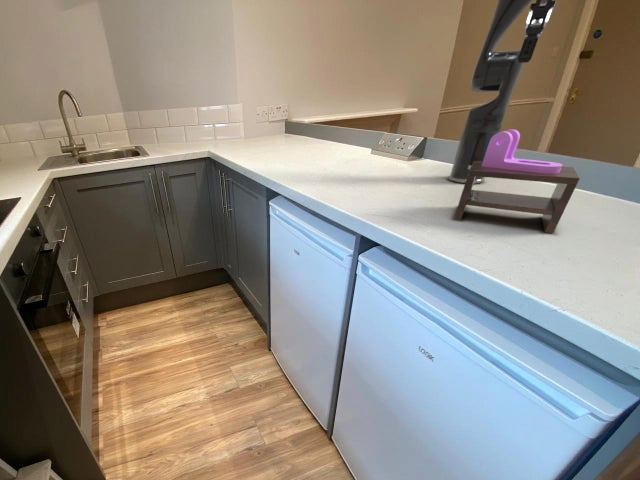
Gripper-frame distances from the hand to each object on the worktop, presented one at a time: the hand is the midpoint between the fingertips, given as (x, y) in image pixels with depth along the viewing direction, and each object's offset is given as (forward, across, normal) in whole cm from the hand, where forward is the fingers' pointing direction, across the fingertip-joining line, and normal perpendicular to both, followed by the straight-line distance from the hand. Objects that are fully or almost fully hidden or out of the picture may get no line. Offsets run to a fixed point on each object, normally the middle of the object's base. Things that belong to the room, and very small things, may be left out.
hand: (523, 62), depth 72 cm
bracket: (+19, -11, -6) cm, 23 cm away
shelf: (+30, -11, -6) cm, 33 cm away
